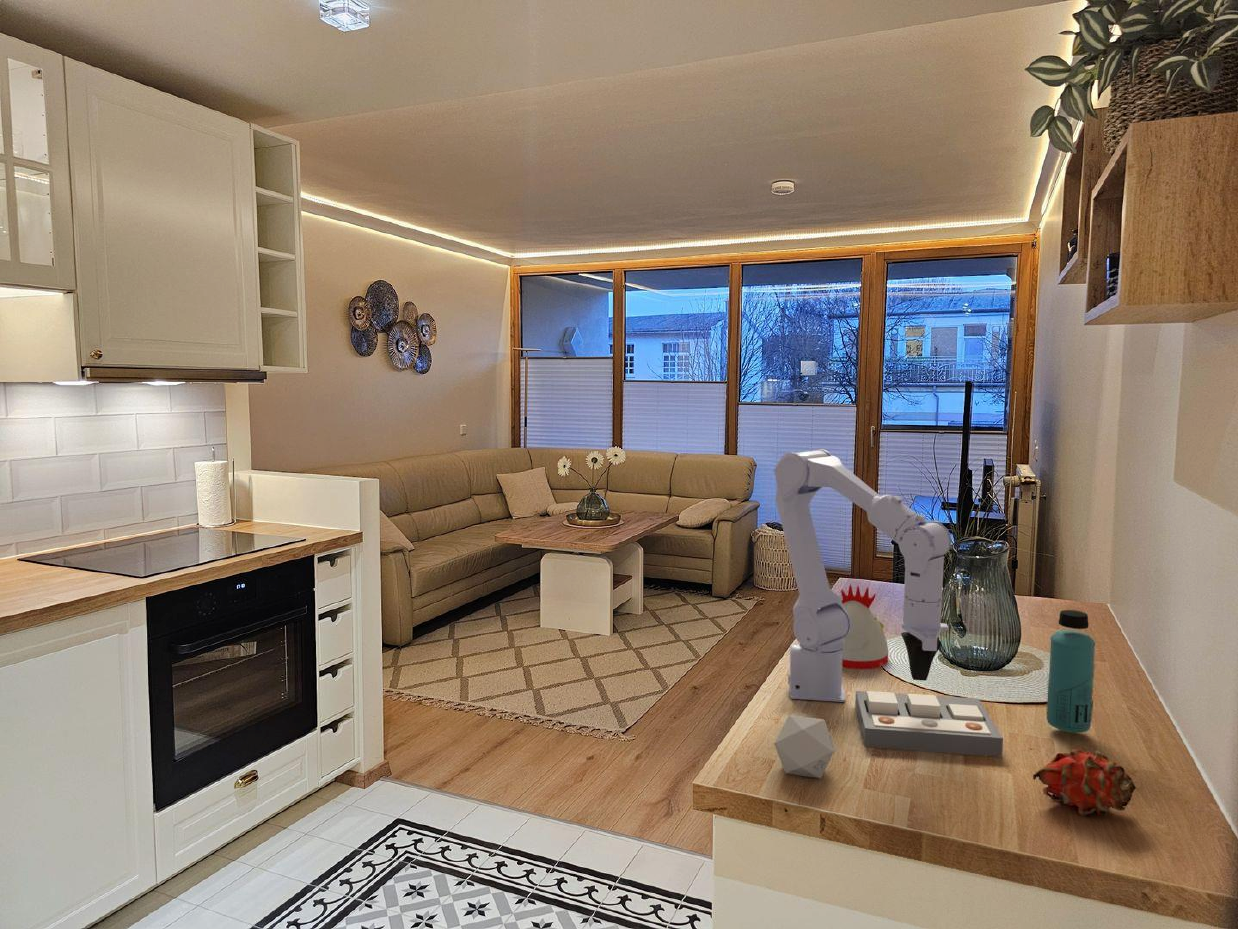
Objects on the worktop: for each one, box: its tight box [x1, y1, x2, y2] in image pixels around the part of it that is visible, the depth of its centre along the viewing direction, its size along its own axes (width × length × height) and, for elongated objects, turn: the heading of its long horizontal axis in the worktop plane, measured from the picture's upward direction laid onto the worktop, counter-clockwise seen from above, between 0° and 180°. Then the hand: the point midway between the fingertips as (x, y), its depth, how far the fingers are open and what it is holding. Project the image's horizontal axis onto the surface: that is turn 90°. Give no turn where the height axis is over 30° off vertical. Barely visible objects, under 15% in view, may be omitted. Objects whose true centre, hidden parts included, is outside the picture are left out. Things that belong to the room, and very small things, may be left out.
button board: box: [854, 690, 1004, 757], centre depth 132 cm, size 20×15×3 cm
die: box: [773, 714, 836, 780], centre depth 119 cm, size 8×9×10 cm
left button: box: [866, 690, 898, 715], centre depth 134 cm, size 4×4×2 cm
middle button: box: [906, 693, 941, 718], centre depth 133 cm, size 4×4×2 cm
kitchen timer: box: [840, 584, 889, 670], centre depth 165 cm, size 14×14×15 cm
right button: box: [948, 704, 983, 721], centre depth 132 cm, size 4×4×2 cm
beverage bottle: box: [1045, 609, 1096, 734], centre depth 130 cm, size 6×7×20 cm
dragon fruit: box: [1032, 748, 1137, 817], centre depth 108 cm, size 8×8×12 cm
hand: (919, 678), depth 133 cm, fingers closed
